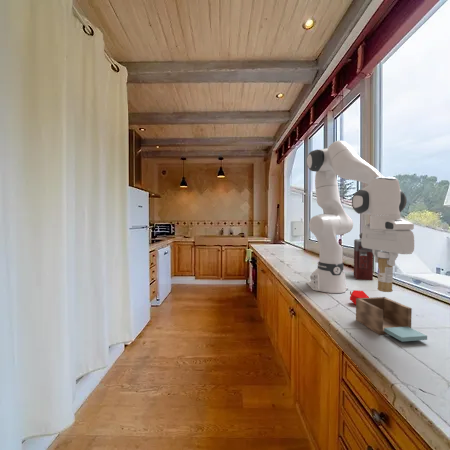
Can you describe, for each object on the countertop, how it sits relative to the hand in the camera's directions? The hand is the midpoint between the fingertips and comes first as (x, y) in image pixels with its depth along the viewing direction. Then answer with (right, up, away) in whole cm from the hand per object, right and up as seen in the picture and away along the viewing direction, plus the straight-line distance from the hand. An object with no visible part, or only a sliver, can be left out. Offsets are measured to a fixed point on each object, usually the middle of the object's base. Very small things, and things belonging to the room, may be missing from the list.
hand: (384, 264), depth 89 cm
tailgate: (+1, -21, -5) cm, 21 cm away
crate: (0, -22, +1) cm, 22 cm away
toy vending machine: (+29, -19, +69) cm, 77 cm away
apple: (+3, -21, +23) cm, 31 cm away
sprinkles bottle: (0, -9, 0) cm, 9 cm away
